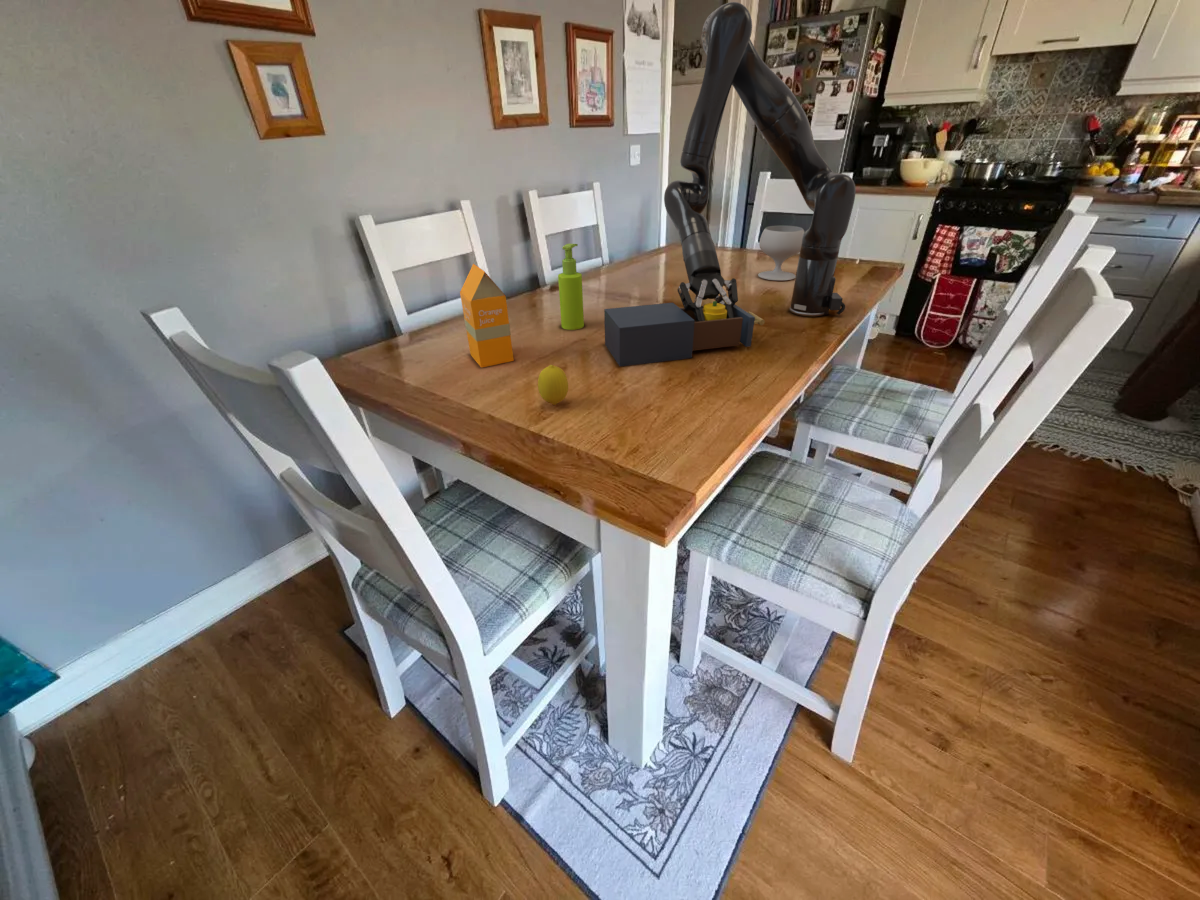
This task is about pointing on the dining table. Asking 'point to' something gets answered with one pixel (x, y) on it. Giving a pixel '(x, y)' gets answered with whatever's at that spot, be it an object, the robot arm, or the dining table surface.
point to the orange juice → (486, 319)
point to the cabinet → (648, 333)
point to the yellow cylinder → (714, 311)
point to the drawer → (724, 330)
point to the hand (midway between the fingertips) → (716, 323)
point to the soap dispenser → (570, 292)
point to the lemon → (553, 384)
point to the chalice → (780, 248)
